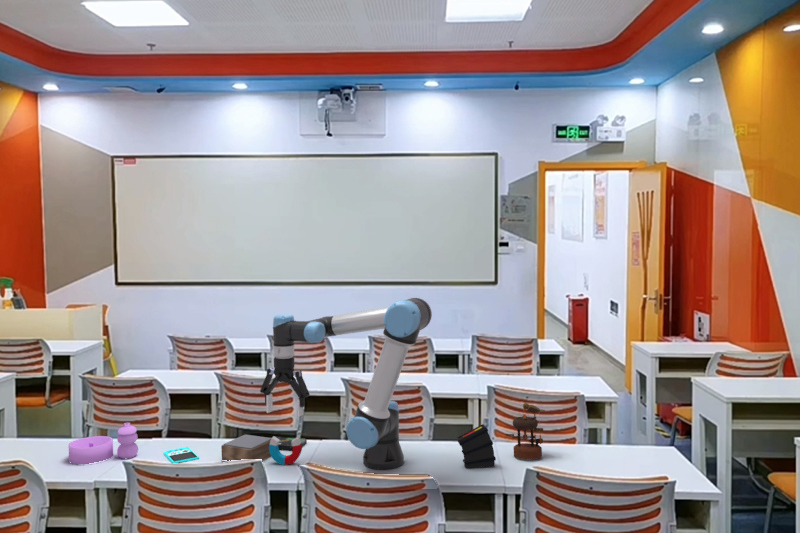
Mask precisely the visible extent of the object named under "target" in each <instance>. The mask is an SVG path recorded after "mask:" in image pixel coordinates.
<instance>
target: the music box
mask: <svg viewBox="0 0 800 533" xmlns="http://www.w3.org/2000/svg"><path fill="white" fill-rule="evenodd" d="M522 408H523V409H522V410H523V411H522V412H526V410H527V411H528V412H529V413H533V415H534V416H527V415H526V413H523V414H522V416H517V417H516V416H515V418H514V419H513V420H512V426H513V427H514V429H515V430H516V431H517V435H515V434H514V433H511V434H510V433H508V434H507V433H506V434H505V436H508V437H509V436H511V438H512V439H517V444H515V445H514V446H513V457H514V458H517V459H522V460H537V459H538V460H539V459H541V458H543V448H542V447H541V446H540V445H542V444H543V442H544V440H543V439H544V438H542V434H539V438H537V437H536V436H537V435H536V434H534V432H540V433H541V432H544V428H543V427H538V426H539V422H538V420H537V417H536V414H537V413H539V416H541V414H540V412H545V411H546V409H540V408H539V406H538V407H537V406H536V405H533V404H530V403H528V402H524V403H523V405H522ZM521 431H523V435H521ZM528 431H530V436H529V435H528V434H527V432H528ZM522 438H523V440H524V441H527V440H528V439H529V441H528V442H522V441H521V439H522ZM521 442H522V443H521Z"/></svg>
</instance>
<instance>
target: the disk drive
mask: <svg viewBox="0 0 800 533" xmlns="http://www.w3.org/2000/svg"><path fill="white" fill-rule="evenodd" d="M275 437H276V438H278V439H279V440H280V441H279V444H278V448H279V451H280V452H281V451H282V452H283V451H284V452H293V446H292V443H291V442H292V441H293V440H294V439H295V438H296V437H290V436H289V437H287V436H275ZM299 438H300V440H301V444H302V448H303V447H305V446H306V445H307V441H308V440H307V439H306V438H303V437H299Z"/></svg>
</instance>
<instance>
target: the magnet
mask: <svg viewBox="0 0 800 533" xmlns="http://www.w3.org/2000/svg"><path fill="white" fill-rule="evenodd" d="M276 437H277V436H274V435H273V436H272V437H271V438H272V439H271V441H270V444H269V451H270V455H271V457H270V458H272V459H273V461H274V462H276V464H279V465H281V466H282V465H283V466H288V465H292V464H293V463H294V462H296V461H297V460H298V458H299V457H300V456H301V453H302V448H303V447H302V444H301V440H300V438H301V437H299V436H297V437H294V438H295V439H294V440H293V441H292V442H291V443H292V446H293V451H291V453H290V454H288V455H286V454H283V453H282V452H281V450H279V448H278V444H279V441H280V440H279V439H278V438H276Z"/></svg>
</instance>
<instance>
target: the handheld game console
mask: <svg viewBox="0 0 800 533" xmlns="http://www.w3.org/2000/svg"><path fill="white" fill-rule="evenodd" d="M164 454H165V455H164ZM163 455H164V456H165V457H166V459H167V460H168V461H170V462H171V464H172V463H178V464H183V463H187V462H192V461H196V460H200V457H199V456H198V455H197V454H196V453H195V452H194V451H193V450H192V449H191V448H190V447H188V446H185V447H178V448H173V449H168V450H165V451H164V452H163Z"/></svg>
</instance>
